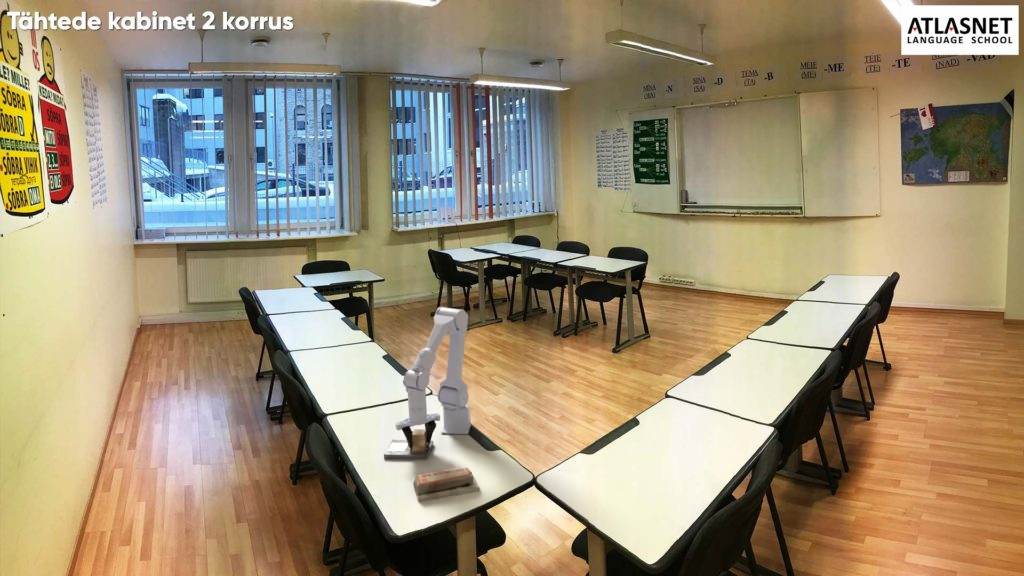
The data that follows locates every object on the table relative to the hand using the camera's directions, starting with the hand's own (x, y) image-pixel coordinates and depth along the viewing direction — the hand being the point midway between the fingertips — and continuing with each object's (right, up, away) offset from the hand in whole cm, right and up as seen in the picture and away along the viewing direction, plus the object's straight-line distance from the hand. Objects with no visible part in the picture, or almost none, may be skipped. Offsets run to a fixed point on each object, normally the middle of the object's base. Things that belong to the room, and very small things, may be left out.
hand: (419, 445), depth 194 cm
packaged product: (+11, -8, -21) cm, 25 cm away
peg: (0, -2, +1) cm, 2 cm away
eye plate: (-3, -2, +1) cm, 4 cm away
